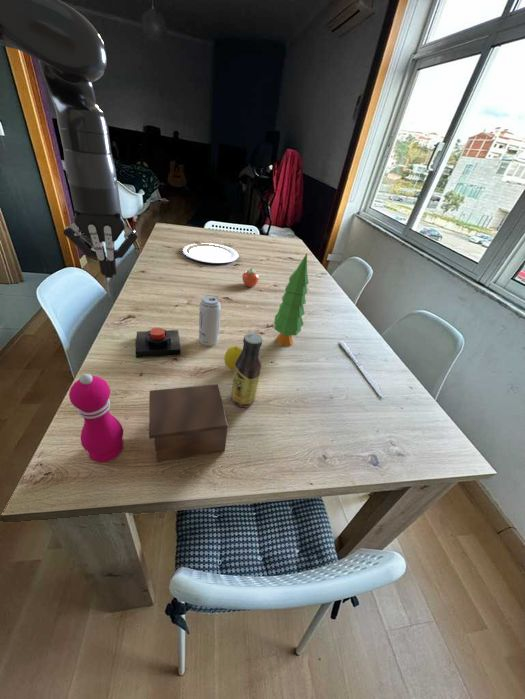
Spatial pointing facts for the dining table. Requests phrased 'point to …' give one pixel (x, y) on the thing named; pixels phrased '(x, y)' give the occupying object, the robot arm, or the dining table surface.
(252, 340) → the sauce bottle
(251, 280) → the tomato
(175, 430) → the lid
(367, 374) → the butter knife
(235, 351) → the lemon
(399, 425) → the dining table surface
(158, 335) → the button
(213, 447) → the box
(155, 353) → the button housing
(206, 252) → the plate
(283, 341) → the decorative tree
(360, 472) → the dining table surface
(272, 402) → the dining table surface
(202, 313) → the energy drink can
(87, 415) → the pepper mill
